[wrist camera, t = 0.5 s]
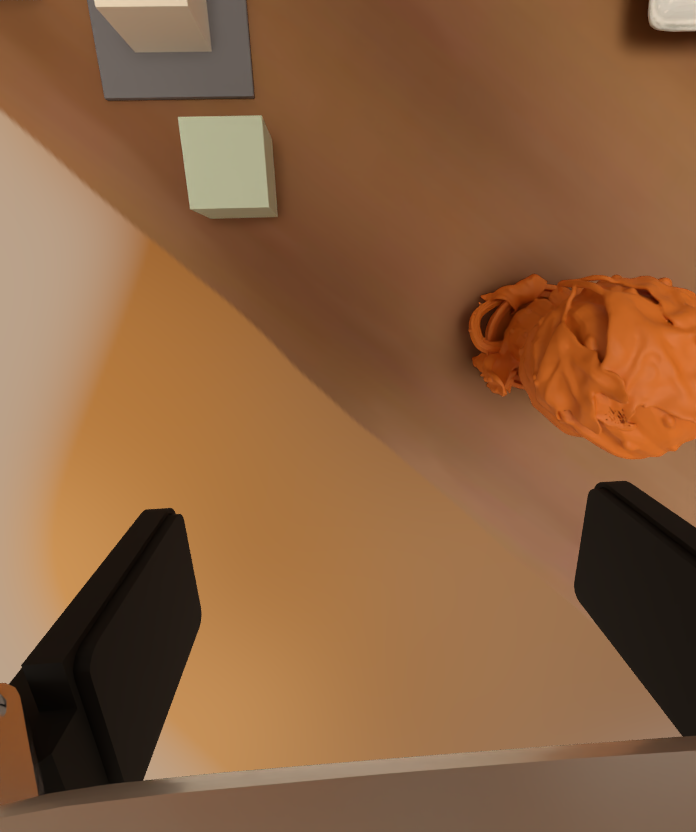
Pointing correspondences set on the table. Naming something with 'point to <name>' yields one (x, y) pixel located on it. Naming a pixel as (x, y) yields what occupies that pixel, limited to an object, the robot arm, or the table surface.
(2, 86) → the table surface
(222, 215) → the pale green cube
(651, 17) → the square plate
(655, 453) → the orange sculpted figure
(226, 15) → the mat
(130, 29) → the beige cube
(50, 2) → the table surface
